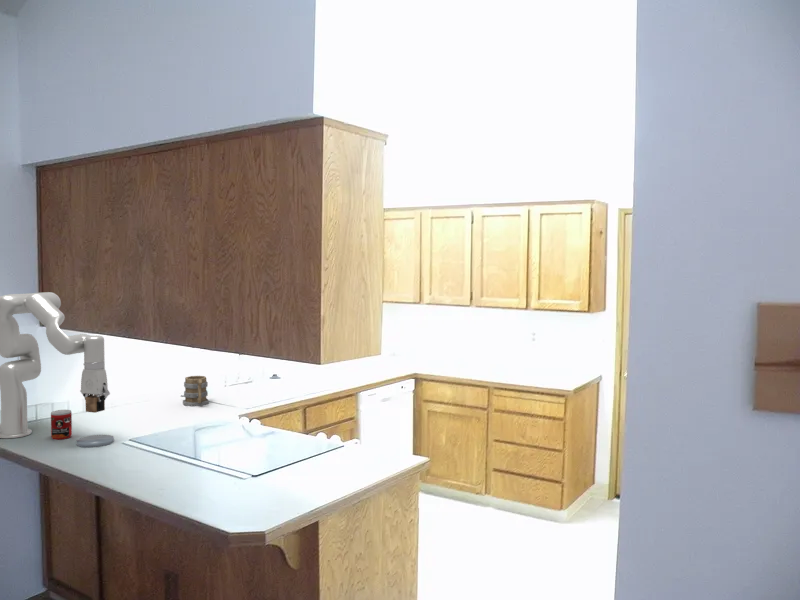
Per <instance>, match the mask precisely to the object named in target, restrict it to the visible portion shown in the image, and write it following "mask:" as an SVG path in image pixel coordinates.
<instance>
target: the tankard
mask: <svg viewBox="0 0 800 600" xmlns="http://www.w3.org/2000/svg"><path fill="white" fill-rule="evenodd" d="M184 378H185V381H184V382H183V386H184V389H185V390H184V391H183V395H184V398H185V399H183V400H182V404H183V406H185V407H203V406H206V405H209V404H210V401H209V399H208V392H209V391H208V390H207V388H208V381H207V377H206V376H204V375H190V376H185V377H184Z"/></svg>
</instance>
